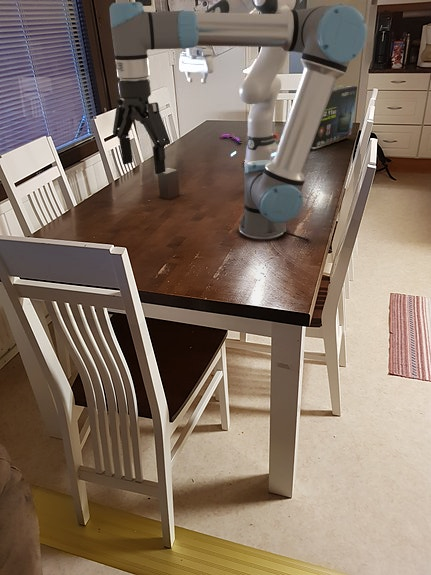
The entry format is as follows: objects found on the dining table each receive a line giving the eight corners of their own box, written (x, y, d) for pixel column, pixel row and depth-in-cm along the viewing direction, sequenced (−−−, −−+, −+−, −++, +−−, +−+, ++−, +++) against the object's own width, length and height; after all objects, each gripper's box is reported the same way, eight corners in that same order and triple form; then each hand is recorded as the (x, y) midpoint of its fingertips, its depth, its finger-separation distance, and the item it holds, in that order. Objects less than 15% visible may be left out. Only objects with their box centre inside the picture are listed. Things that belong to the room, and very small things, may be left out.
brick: (159, 196, 182) (157, 171, 177) (170, 192, 186) (168, 167, 180) (168, 199, 179) (166, 173, 174) (179, 195, 183) (177, 169, 177)
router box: (314, 151, 231) (318, 94, 217) (296, 148, 237) (299, 92, 224) (352, 138, 251) (358, 85, 238) (335, 135, 258) (340, 83, 245)
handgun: (221, 137, 264) (220, 133, 263) (234, 136, 265) (233, 132, 264) (228, 145, 247) (228, 142, 246) (242, 144, 248) (242, 140, 247)
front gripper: (91, 77, 114) (104, 162, 125) (155, 84, 98) (163, 180, 109) (116, 74, 118) (126, 156, 129) (180, 80, 103) (186, 173, 114)
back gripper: (175, 51, 220) (177, 82, 227) (205, 52, 208) (207, 85, 215) (184, 50, 224) (186, 80, 231) (215, 50, 212) (216, 83, 219)
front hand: (143, 167), depth 119 cm, fingers open, 13 cm apart
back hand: (196, 82), depth 223 cm, fingers open, 8 cm apart
